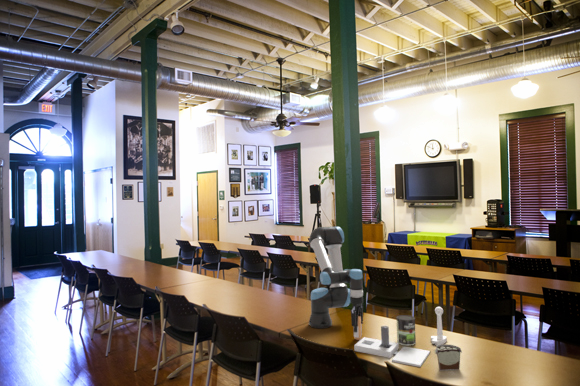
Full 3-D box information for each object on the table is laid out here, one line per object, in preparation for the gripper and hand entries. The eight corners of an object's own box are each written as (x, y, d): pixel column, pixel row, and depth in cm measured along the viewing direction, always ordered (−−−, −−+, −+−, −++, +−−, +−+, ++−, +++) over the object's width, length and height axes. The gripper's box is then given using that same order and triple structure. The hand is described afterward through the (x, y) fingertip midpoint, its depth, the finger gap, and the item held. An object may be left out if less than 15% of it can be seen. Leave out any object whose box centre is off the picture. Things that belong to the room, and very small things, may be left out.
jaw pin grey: (380, 352, 207) (379, 327, 207) (383, 349, 211) (382, 325, 211) (388, 353, 205) (387, 328, 205) (390, 350, 208) (389, 326, 209)
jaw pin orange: (353, 339, 227) (352, 317, 227) (356, 337, 230) (355, 315, 230) (359, 340, 225) (359, 318, 225) (362, 338, 228) (361, 316, 228)
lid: (388, 360, 196) (387, 358, 196) (399, 347, 213) (399, 345, 213) (420, 367, 187) (420, 365, 187) (430, 352, 204) (430, 350, 204)
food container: (456, 364, 190) (455, 343, 190) (462, 369, 183) (461, 348, 184) (431, 365, 189) (430, 344, 189) (436, 370, 183) (436, 349, 183)
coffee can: (419, 344, 216) (418, 319, 216) (403, 346, 213) (402, 321, 214) (409, 338, 226) (408, 314, 226) (393, 340, 223) (392, 316, 224)
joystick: (439, 346, 213) (437, 309, 213) (426, 342, 218) (425, 307, 219) (448, 340, 220) (447, 305, 220) (436, 337, 226) (434, 303, 226)
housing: (354, 350, 210) (354, 345, 210) (364, 342, 222) (364, 337, 222) (390, 357, 199) (390, 352, 199) (398, 348, 211) (398, 343, 211)
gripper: (356, 300, 218) (358, 341, 218) (368, 293, 233) (369, 332, 232) (344, 298, 222) (345, 339, 222) (356, 292, 237) (357, 330, 236)
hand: (357, 335), depth 227 cm, fingers closed on jaw pin orange, 4 cm apart
